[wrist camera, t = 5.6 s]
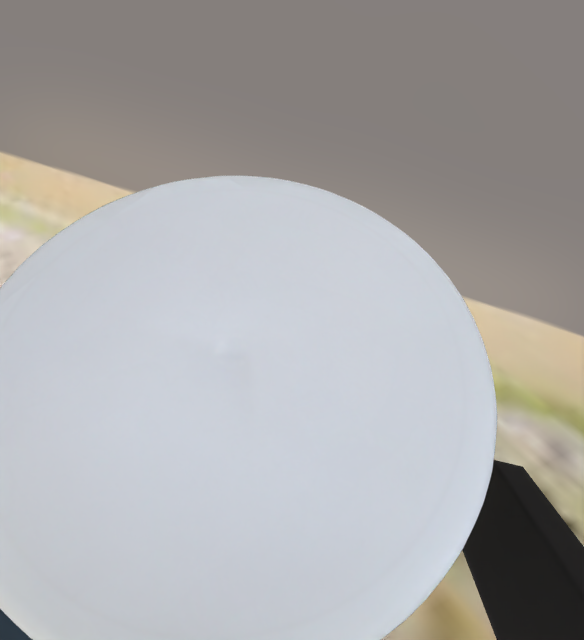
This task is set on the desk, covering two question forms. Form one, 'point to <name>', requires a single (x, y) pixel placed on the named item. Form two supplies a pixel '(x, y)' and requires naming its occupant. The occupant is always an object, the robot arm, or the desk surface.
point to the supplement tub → (235, 420)
